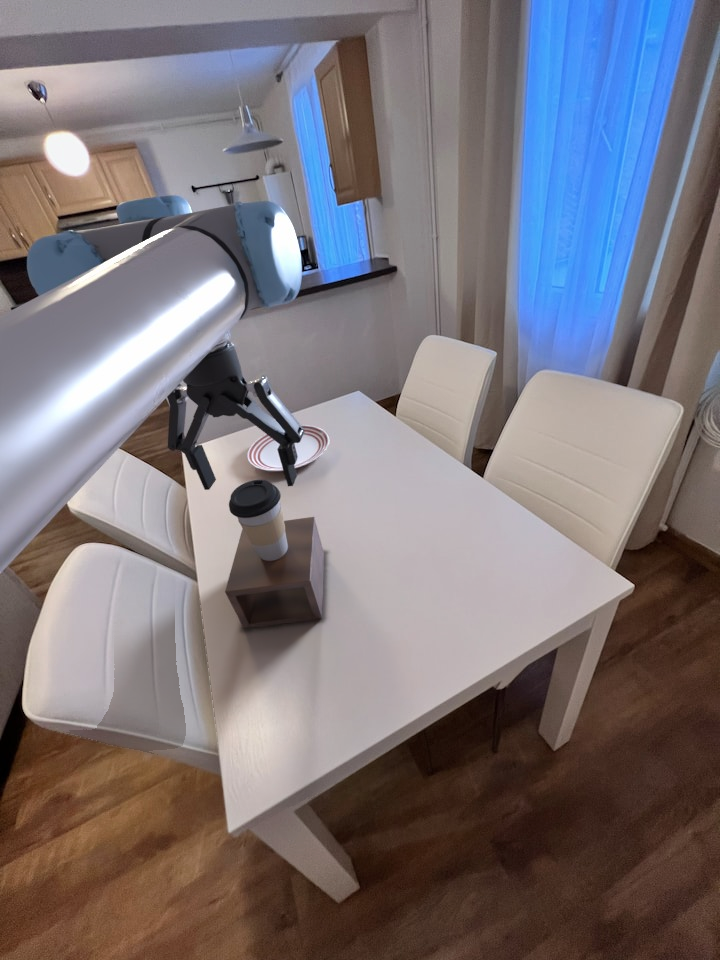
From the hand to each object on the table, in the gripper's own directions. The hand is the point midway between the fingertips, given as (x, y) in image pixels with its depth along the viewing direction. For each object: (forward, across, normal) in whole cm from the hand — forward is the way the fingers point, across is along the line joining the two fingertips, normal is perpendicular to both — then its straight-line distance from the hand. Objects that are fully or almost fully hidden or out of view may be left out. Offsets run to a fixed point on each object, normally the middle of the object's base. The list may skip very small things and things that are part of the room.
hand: (250, 483), depth 63 cm
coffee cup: (+22, +4, -7) cm, 23 cm away
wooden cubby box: (+33, +4, -7) cm, 34 cm away
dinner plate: (+32, +18, -63) cm, 73 cm away
